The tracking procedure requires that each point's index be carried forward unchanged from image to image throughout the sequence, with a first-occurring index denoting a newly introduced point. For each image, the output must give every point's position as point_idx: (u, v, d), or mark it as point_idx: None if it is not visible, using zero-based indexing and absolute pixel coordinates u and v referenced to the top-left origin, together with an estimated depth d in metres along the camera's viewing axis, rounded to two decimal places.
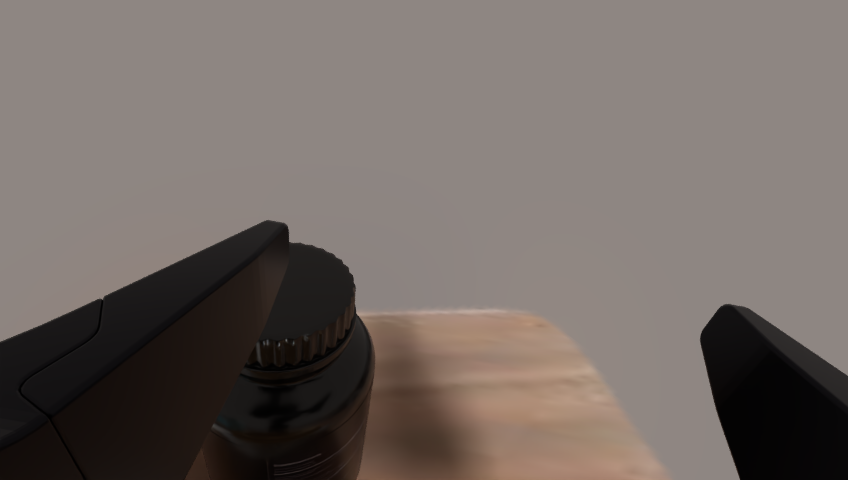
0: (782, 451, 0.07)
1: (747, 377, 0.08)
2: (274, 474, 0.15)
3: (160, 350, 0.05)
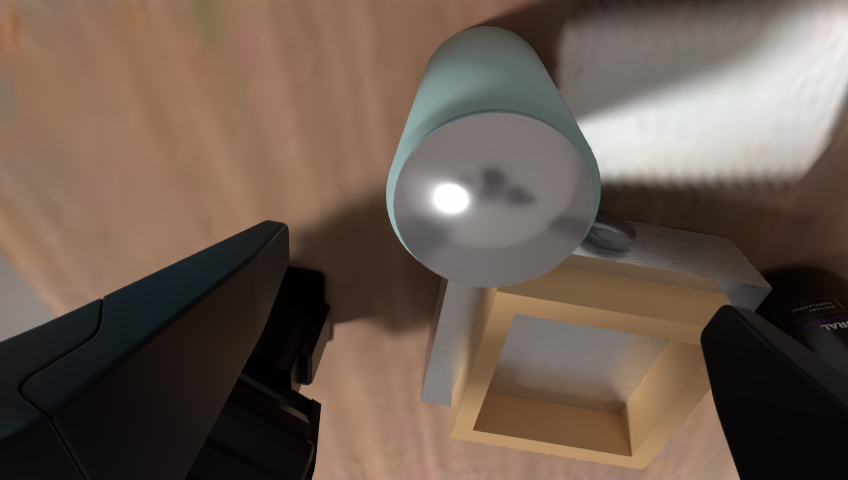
0: (782, 451, 0.07)
1: (747, 377, 0.08)
2: None
3: (160, 350, 0.05)
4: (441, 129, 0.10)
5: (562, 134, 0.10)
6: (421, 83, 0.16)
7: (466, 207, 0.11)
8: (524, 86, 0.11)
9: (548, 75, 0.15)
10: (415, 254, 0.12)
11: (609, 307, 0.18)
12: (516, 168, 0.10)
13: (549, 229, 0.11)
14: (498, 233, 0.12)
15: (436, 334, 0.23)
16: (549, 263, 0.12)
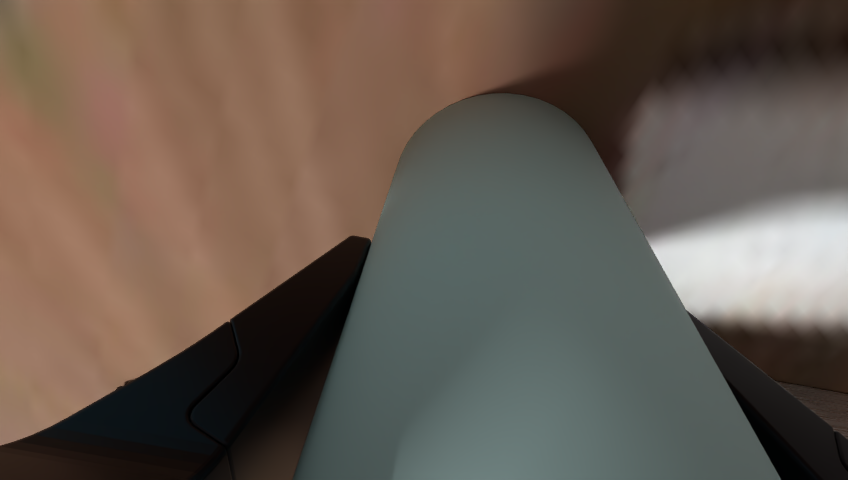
0: None
1: None
2: None
3: (293, 374, 0.06)
4: None
5: None
6: (381, 221, 0.08)
7: None
8: (660, 447, 0.03)
9: (639, 229, 0.07)
10: None
11: None
12: None
13: None
14: None
15: None
16: None
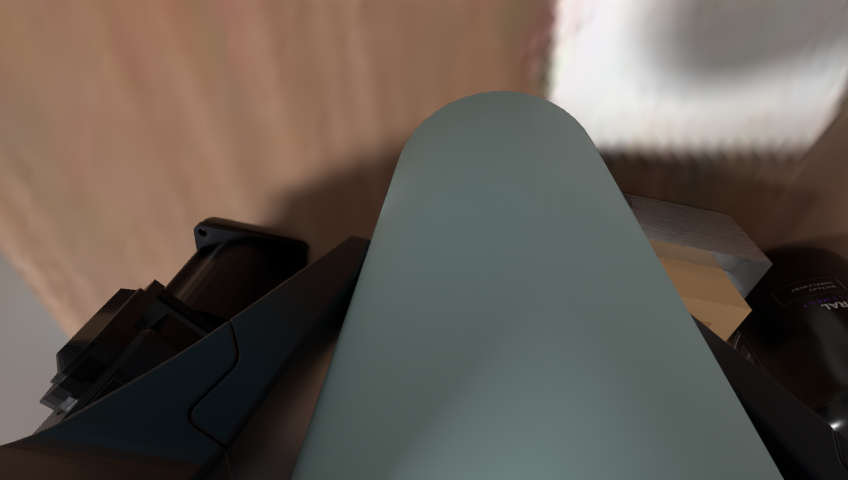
0: None
1: None
2: None
3: (293, 374, 0.06)
4: None
5: None
6: (381, 219, 0.08)
7: None
8: (661, 443, 0.03)
9: (639, 227, 0.07)
10: None
11: None
12: None
13: None
14: None
15: None
16: None
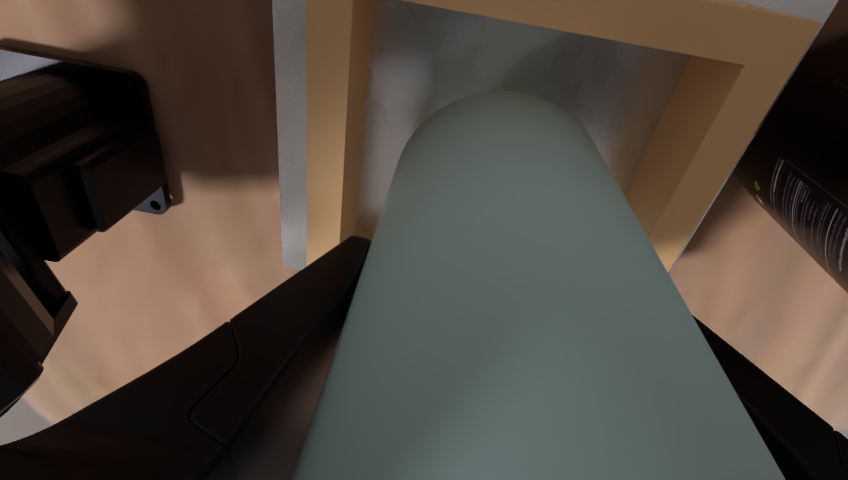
0: None
1: None
2: (837, 210, 0.12)
3: (293, 374, 0.06)
4: None
5: None
6: (381, 220, 0.08)
7: None
8: (664, 445, 0.03)
9: (640, 227, 0.07)
10: None
11: None
12: None
13: None
14: None
15: (279, 130, 0.14)
16: None
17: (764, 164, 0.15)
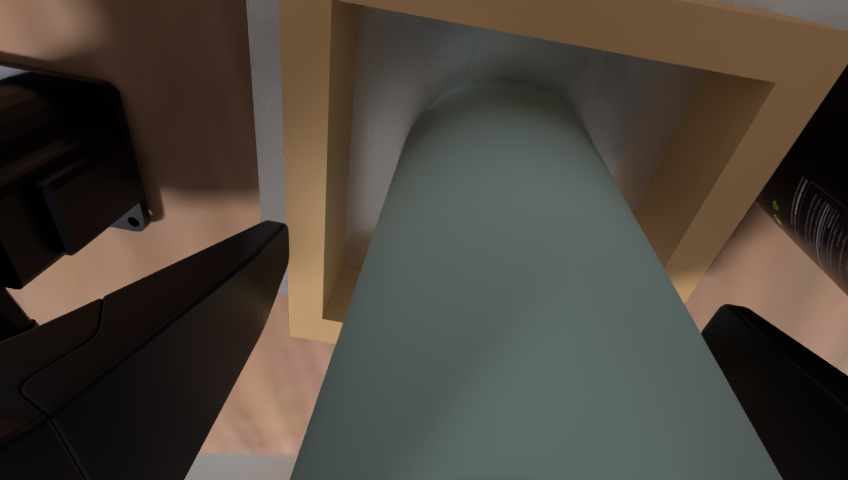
0: (782, 451, 0.07)
1: (747, 377, 0.08)
2: None
3: (160, 350, 0.05)
4: None
5: None
6: (389, 195, 0.09)
7: None
8: (625, 347, 0.04)
9: (623, 198, 0.08)
10: None
11: None
12: None
13: None
14: None
15: (258, 147, 0.13)
16: None
17: (785, 183, 0.13)
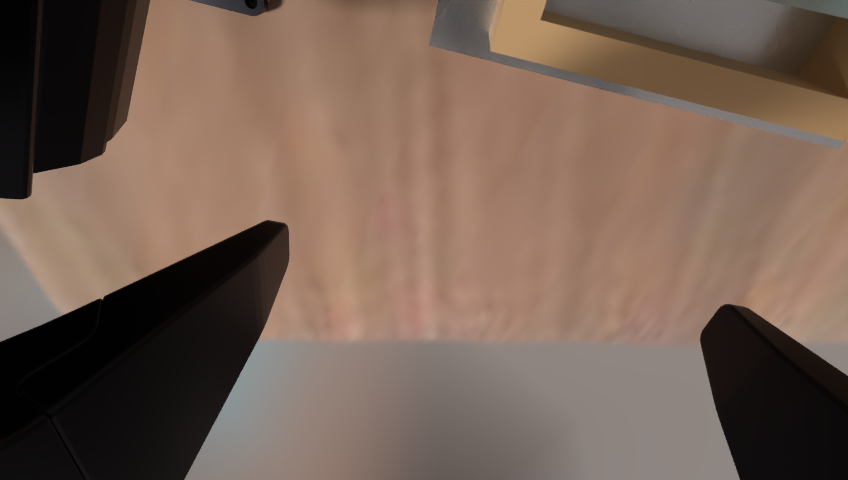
0: (782, 451, 0.07)
1: (747, 377, 0.08)
2: None
3: (160, 350, 0.05)
4: None
5: None
6: None
7: None
8: None
9: None
10: None
11: None
12: None
13: None
14: None
15: None
16: None
17: None
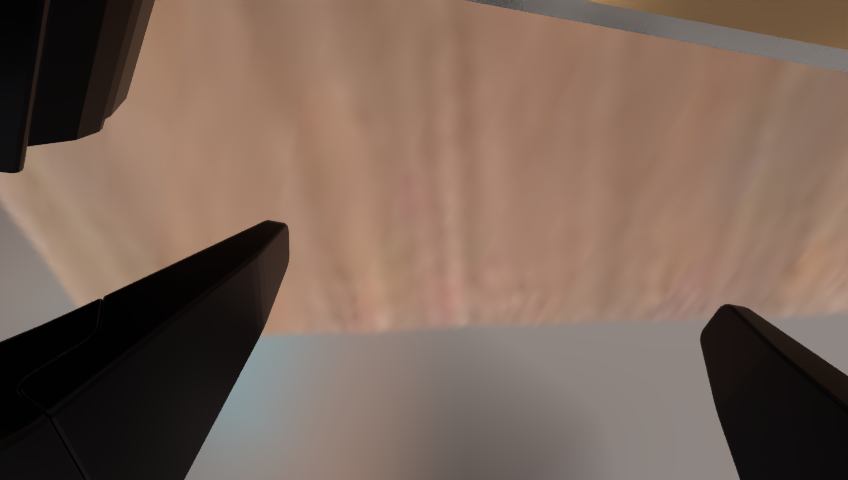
0: (782, 451, 0.07)
1: (747, 377, 0.08)
2: None
3: (160, 350, 0.05)
4: None
5: None
6: None
7: None
8: None
9: None
10: None
11: None
12: None
13: None
14: None
15: None
16: None
17: None
